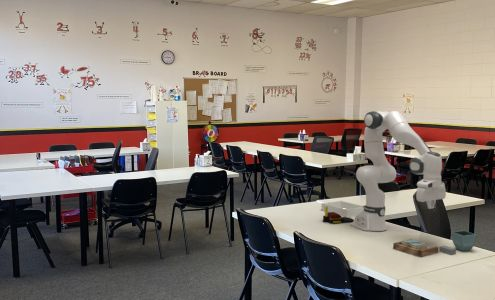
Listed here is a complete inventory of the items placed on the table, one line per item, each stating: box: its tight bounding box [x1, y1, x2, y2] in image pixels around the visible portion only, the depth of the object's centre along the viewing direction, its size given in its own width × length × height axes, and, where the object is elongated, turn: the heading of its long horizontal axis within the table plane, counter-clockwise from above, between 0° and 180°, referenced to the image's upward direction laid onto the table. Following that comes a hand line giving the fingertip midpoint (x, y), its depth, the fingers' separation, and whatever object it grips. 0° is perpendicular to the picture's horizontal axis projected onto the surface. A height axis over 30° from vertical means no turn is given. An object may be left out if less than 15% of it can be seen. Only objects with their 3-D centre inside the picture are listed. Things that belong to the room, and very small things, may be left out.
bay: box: [392, 239, 439, 258], centre depth 252 cm, size 17×14×3 cm
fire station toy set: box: [322, 206, 355, 225], centre depth 313 cm, size 14×20×11 cm
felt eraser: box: [438, 245, 457, 256], centre depth 249 cm, size 7×4×3 cm, turn 33°
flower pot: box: [451, 230, 477, 252], centre depth 254 cm, size 9×9×9 cm
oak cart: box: [401, 239, 428, 250], centre depth 252 cm, size 10×8×5 cm
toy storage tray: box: [321, 200, 365, 218], centre depth 338 cm, size 25×19×6 cm
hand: (430, 208), depth 257 cm, fingers closed
